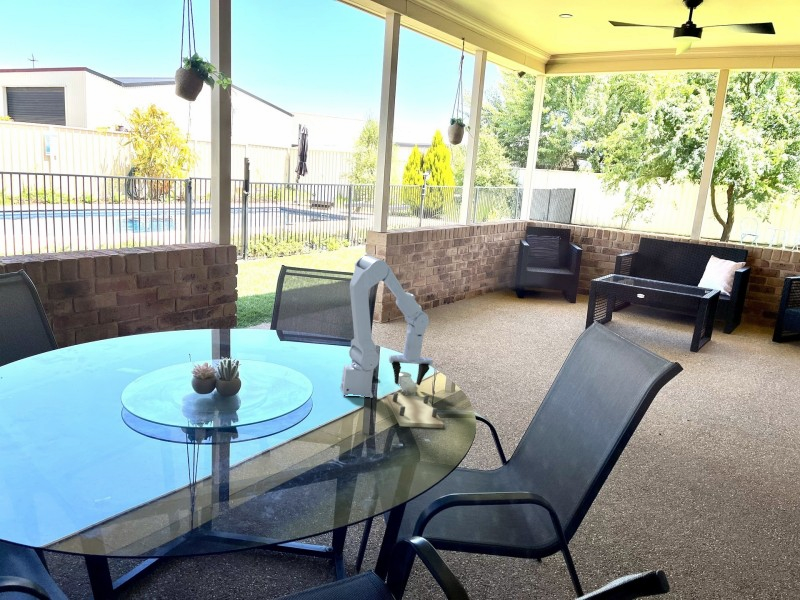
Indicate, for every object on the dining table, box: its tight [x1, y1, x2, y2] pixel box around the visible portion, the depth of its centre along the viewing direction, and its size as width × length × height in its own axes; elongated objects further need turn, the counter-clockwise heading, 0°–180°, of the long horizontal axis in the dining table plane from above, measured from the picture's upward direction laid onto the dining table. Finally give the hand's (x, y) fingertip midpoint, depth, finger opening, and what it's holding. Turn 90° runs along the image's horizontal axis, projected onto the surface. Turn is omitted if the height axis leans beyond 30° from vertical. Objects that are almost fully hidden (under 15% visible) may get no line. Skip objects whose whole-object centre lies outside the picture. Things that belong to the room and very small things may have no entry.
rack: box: [386, 392, 445, 429], centre depth 176 cm, size 13×20×4 cm, turn 13°
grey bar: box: [398, 371, 418, 396], centre depth 195 cm, size 5×14×4 cm, turn 13°
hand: (407, 383), depth 194 cm, fingers open, 7 cm apart
